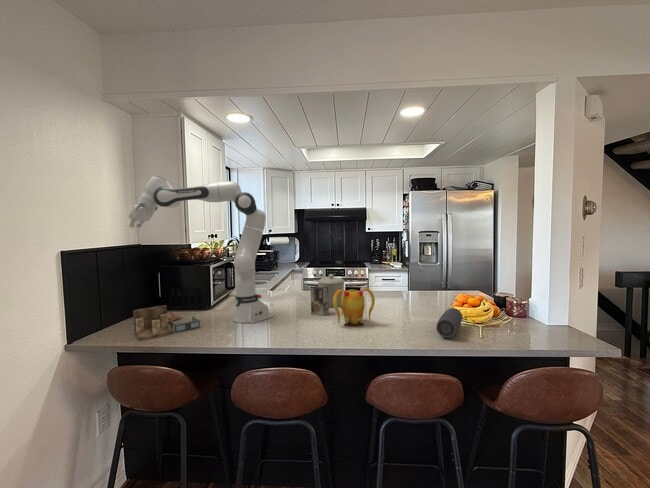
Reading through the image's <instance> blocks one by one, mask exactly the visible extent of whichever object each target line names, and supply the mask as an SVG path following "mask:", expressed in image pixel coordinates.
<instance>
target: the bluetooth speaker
mask: <svg viewBox="0 0 650 488" xmlns="http://www.w3.org/2000/svg"><path fill="white" fill-rule="evenodd" d="M462 322H463V314H462V312H461V311H460V310H459V308H454V307H450V308H448V309H447V310H445V311H444V312H443V313H442V314H441V316H440V318H439V319H438V321H437V322H436V331H437V333H438V334H439V335H440V336H441V337H443V338H452V337H453V336H454V335H456V333H457V332H458V330H460V327H461V324H462Z"/></svg>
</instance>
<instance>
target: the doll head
mask: <svg viewBox="0 0 650 488" xmlns="http://www.w3.org/2000/svg"><path fill="white" fill-rule="evenodd" d="M342 291H343V294H342V297H341V305H340V309H341V311H340V310H339V306H337V301H338V296H339V294H340V292H342ZM364 291H366V292H368V294H369V295H370V298H371V303H370V304H371V305H370V307H369V309H368V318H369V321H371V314H372V312H373V309H374V306H375V302H376V301H375V300H376V299H375V295H374V293H373V291H372V290H371V289H370V288H368V287H366V288H363V289H362V290H357V289H352V288H351V289H348V290H345V289H344V288H343V289H339V290H337V291H336V292H335V294H334V297H333V305H334V307H333V308H334V310H335V312H336V314H337V323H338V324H340V321H341V316H343V318H344V323H343V326H344V327H349V328H350V327H351V328H353V327H356V328H357V327H362V326H364V323H363V319H364V318H363V317H364V312H365V311H364V310H365V307H366V306H365V297H364ZM340 312H341V313H340Z"/></svg>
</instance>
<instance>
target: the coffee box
mask: <svg viewBox="0 0 650 488" xmlns="http://www.w3.org/2000/svg"><path fill="white" fill-rule="evenodd" d="M329 308H330V307H329V303H328V287H321V286H319V285H315V286H312V287H310V310H311V311H310V314H311V315H315V316H327V315H329V313H330V309H329Z"/></svg>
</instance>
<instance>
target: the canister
mask: <svg viewBox="0 0 650 488" xmlns="http://www.w3.org/2000/svg"><path fill="white" fill-rule="evenodd" d="M345 281H346V280H345V279H343V278H342V277H336V276H335V275H334V273H329V274H328V277H321V278H320V279H318V280H317V283H318V286H321V287H328V303H329V308H334V305H333V297H334V294H335V292H336V291H337V290H339V289H343V290H344V285H345ZM343 292H344V291H342V292H340V294H339V296H338V301H337V306H338V307H339V306H340V307H341V297H342V294H343Z"/></svg>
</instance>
